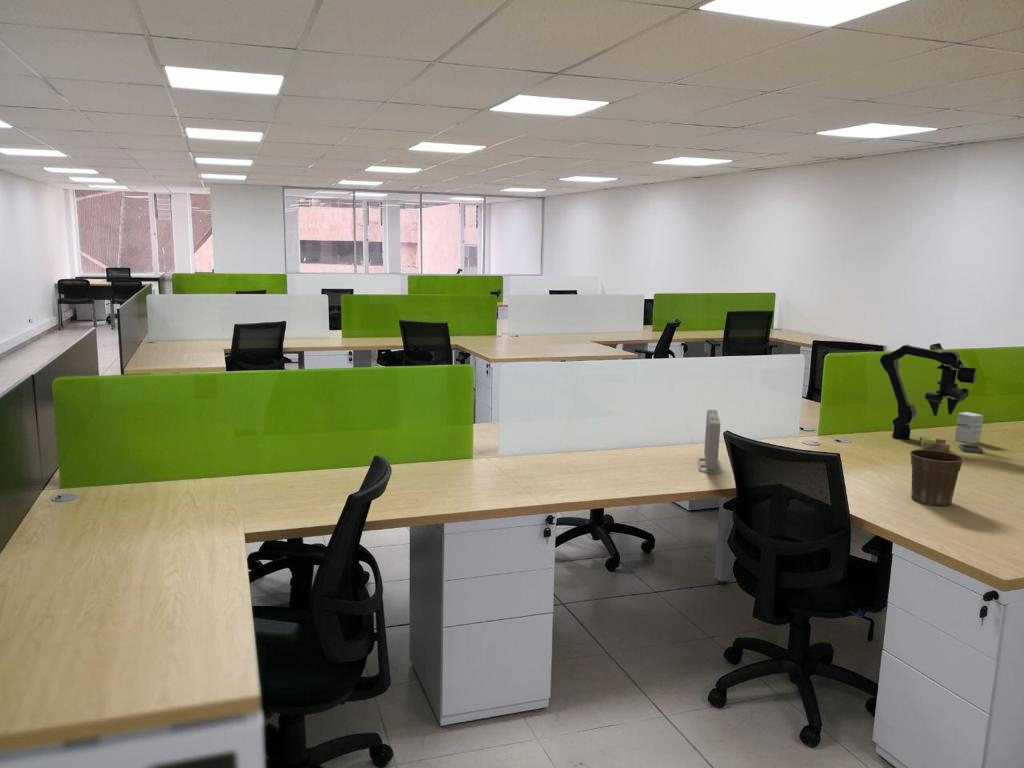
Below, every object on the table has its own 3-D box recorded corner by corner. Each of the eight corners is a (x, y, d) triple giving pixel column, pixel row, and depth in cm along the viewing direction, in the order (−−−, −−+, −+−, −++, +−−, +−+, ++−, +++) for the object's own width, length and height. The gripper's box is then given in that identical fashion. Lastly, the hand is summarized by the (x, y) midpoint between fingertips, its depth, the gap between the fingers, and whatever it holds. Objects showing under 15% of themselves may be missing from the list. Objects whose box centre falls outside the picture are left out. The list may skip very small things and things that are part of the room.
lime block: (922, 447, 339) (923, 439, 338) (920, 444, 343) (921, 436, 343) (935, 448, 337) (936, 440, 336) (933, 445, 342) (934, 438, 341)
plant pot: (910, 490, 277) (916, 446, 274) (962, 500, 267) (968, 454, 264) (899, 501, 265) (904, 455, 262) (952, 512, 254) (958, 464, 252)
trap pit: (962, 451, 332) (962, 448, 332) (958, 447, 339) (959, 443, 339) (982, 453, 330) (983, 450, 329) (979, 449, 337) (979, 445, 337)
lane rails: (922, 448, 336) (923, 442, 335) (919, 442, 346) (919, 437, 346) (949, 451, 332) (949, 445, 332) (944, 445, 343) (945, 439, 342)
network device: (723, 476, 288) (726, 423, 285) (698, 474, 290) (702, 422, 287) (719, 458, 313) (722, 409, 310) (696, 456, 315) (700, 408, 311)
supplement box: (954, 440, 352) (957, 412, 350) (964, 438, 355) (968, 411, 353) (969, 443, 346) (973, 416, 344) (980, 442, 349) (984, 414, 347)
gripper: (949, 384, 328) (944, 420, 331) (979, 382, 335) (974, 418, 338) (926, 379, 338) (921, 414, 341) (956, 378, 345) (951, 412, 348)
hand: (942, 415), depth 341 cm, fingers open, 9 cm apart
